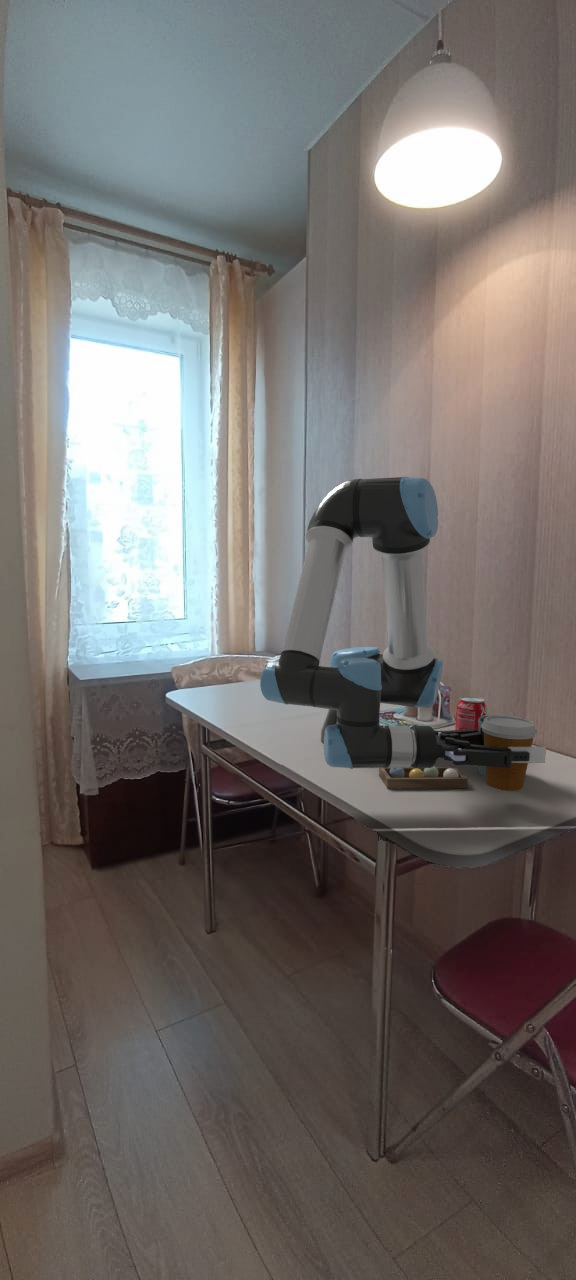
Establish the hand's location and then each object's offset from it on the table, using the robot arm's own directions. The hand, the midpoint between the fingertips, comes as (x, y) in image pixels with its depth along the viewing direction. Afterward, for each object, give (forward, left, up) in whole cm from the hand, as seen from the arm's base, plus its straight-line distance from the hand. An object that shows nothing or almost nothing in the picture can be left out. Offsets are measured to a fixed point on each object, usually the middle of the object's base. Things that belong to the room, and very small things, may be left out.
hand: (532, 747), depth 111 cm
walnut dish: (-11, -16, -11) cm, 23 cm away
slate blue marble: (-12, -21, -11) cm, 27 cm away
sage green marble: (-12, -14, -11) cm, 22 cm away
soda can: (-35, +3, -11) cm, 37 cm away
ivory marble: (-10, -11, -11) cm, 18 cm away
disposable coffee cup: (0, -5, -7) cm, 9 cm away
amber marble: (-10, -18, -11) cm, 23 cm away
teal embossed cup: (-15, +2, -11) cm, 19 cm away
